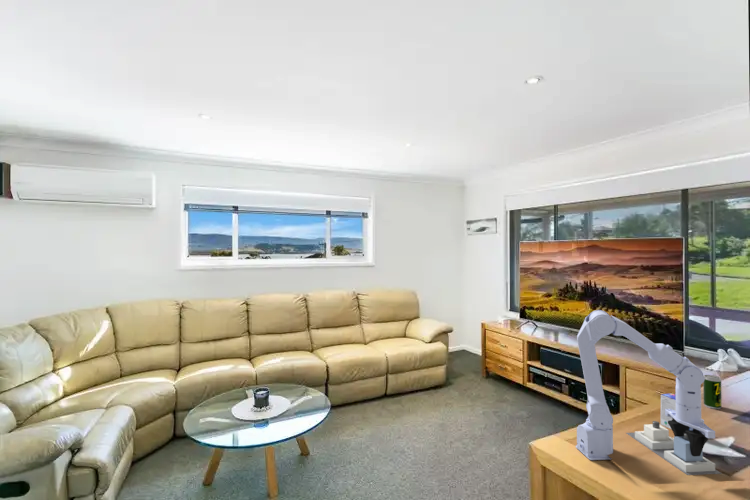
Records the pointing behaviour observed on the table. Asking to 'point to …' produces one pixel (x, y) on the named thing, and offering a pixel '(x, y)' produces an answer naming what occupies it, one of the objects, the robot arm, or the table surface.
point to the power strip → (675, 456)
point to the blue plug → (685, 449)
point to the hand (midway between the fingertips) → (688, 451)
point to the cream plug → (656, 432)
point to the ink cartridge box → (668, 403)
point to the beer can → (712, 392)
